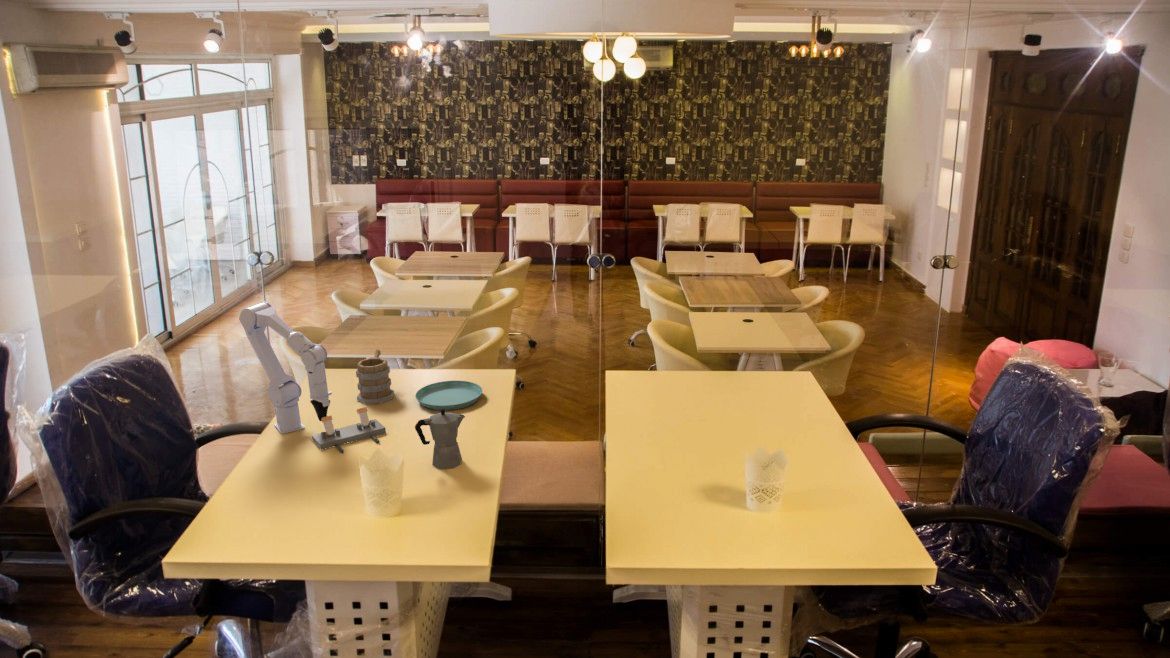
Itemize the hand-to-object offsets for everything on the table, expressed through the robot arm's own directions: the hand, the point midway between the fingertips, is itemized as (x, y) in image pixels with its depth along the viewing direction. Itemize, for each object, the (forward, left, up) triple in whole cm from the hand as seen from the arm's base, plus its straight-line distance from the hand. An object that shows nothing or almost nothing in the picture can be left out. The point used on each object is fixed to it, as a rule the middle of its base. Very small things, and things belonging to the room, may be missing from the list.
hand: (322, 420), depth 300 cm
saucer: (-2, +47, -6) cm, 47 cm away
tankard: (-24, +28, -5) cm, 37 cm away
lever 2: (+8, +12, -2) cm, 14 cm away
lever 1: (+8, 0, -2) cm, 8 cm away
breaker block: (+11, +6, -5) cm, 14 cm away
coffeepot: (+46, +23, -5) cm, 52 cm away
